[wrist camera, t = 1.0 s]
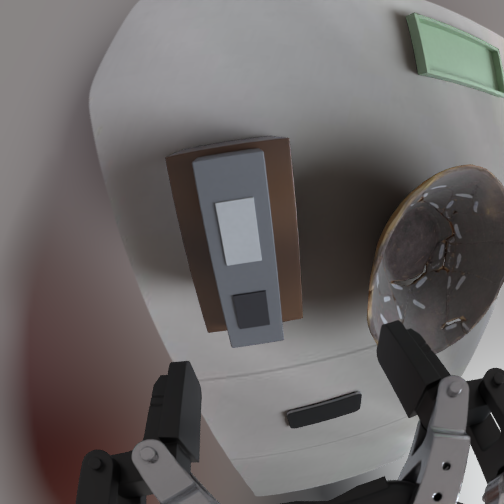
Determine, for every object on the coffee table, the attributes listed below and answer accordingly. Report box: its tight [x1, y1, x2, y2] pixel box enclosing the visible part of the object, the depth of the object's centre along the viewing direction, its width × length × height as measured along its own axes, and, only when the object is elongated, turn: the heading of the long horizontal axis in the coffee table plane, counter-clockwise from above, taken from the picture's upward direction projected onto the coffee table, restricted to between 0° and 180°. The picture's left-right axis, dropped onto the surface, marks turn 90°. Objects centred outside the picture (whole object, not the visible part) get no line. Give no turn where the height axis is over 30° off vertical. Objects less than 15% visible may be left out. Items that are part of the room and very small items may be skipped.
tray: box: [406, 13, 504, 98], centre depth 21 cm, size 19×9×2 cm, turn 98°
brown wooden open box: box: [165, 136, 303, 333], centre depth 26 cm, size 16×9×9 cm, turn 8°
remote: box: [192, 148, 284, 348], centre depth 20 cm, size 15×4×3 cm, turn 8°
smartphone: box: [287, 392, 362, 428], centre depth 47 cm, size 7×1×15 cm
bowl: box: [367, 165, 504, 354], centre depth 29 cm, size 25×25×10 cm
